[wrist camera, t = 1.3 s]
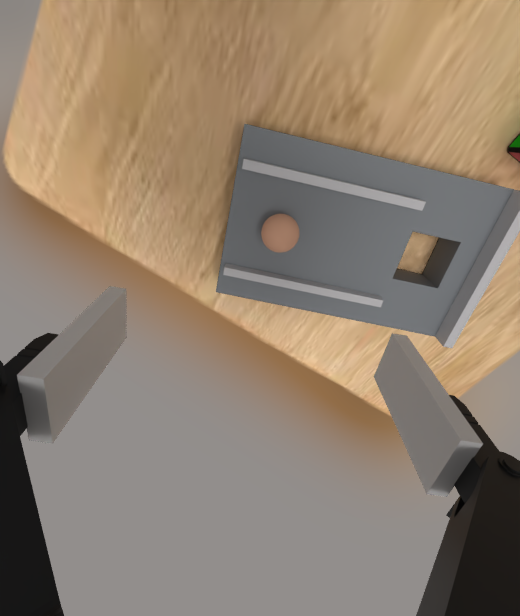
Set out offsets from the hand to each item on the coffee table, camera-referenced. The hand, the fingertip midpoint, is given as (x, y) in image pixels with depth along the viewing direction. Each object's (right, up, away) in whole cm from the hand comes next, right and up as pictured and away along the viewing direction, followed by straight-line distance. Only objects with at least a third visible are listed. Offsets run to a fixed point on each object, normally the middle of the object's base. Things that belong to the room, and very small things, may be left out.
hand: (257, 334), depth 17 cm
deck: (+10, +9, +20) cm, 24 cm away
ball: (+2, +8, +14) cm, 17 cm away
